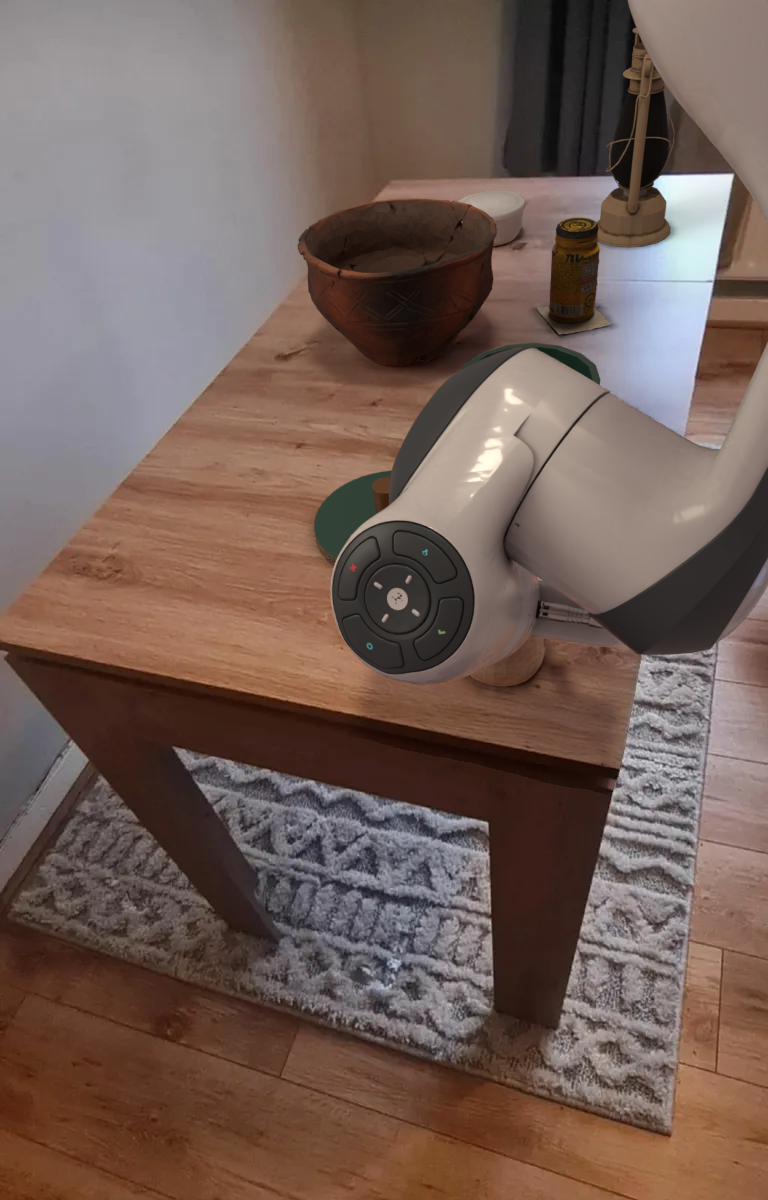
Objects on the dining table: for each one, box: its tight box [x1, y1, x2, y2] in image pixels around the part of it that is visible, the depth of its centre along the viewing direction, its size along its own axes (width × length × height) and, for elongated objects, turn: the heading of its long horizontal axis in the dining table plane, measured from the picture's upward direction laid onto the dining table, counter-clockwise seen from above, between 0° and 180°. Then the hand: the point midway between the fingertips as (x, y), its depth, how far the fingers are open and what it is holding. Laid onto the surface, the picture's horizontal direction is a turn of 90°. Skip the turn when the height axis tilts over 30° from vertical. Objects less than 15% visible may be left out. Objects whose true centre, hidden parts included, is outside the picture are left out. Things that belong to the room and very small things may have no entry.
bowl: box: [297, 198, 497, 366], centre depth 103 cm, size 25×25×15 cm
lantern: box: [596, 27, 675, 248], centre depth 115 cm, size 14×12×30 cm
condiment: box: [536, 217, 612, 335], centre depth 104 cm, size 7×8×12 cm
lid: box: [313, 470, 392, 563], centre depth 80 cm, size 16×16×5 cm
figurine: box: [469, 636, 546, 688], centre depth 64 cm, size 7×7×12 cm
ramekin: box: [457, 189, 526, 247], centre depth 129 cm, size 11×11×5 cm
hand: (501, 598), depth 64 cm, fingers open, 8 cm apart
